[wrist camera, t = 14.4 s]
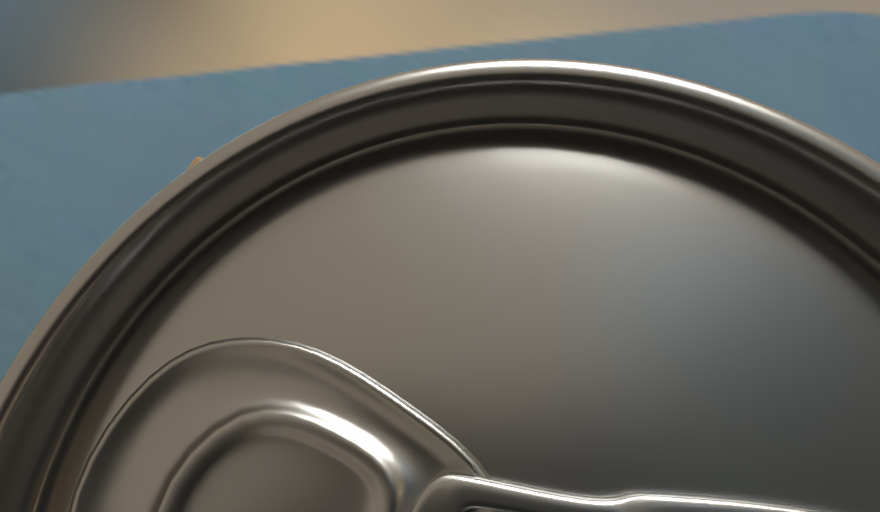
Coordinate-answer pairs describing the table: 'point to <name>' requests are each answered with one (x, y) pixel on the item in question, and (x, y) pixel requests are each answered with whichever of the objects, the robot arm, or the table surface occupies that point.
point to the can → (474, 312)
